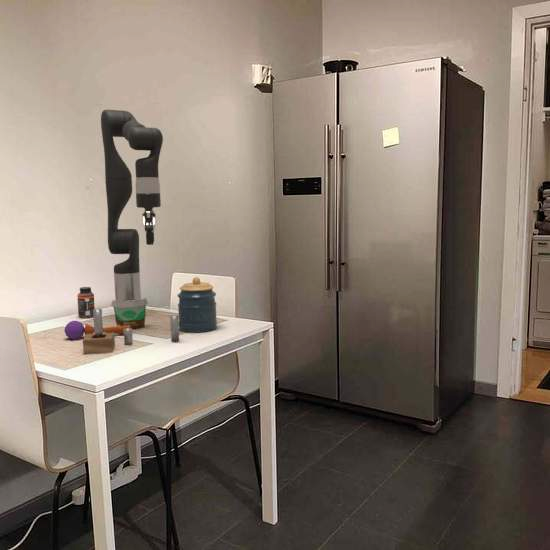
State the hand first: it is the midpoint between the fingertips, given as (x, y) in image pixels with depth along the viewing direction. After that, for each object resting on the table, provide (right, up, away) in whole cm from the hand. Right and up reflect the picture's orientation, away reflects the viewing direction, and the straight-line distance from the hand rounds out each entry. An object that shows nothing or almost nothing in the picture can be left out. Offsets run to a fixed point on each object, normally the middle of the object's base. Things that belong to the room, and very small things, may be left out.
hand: (150, 243), depth 176 cm
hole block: (-12, -32, -14) cm, 37 cm away
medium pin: (+9, -31, -6) cm, 33 cm away
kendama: (-17, -31, +2) cm, 35 cm away
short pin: (-5, -31, -9) cm, 33 cm away
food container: (-9, -29, +13) cm, 33 cm away
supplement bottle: (-32, -26, +33) cm, 53 cm away
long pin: (-12, -32, -14) cm, 37 cm away
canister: (+14, -29, +11) cm, 33 cm away
